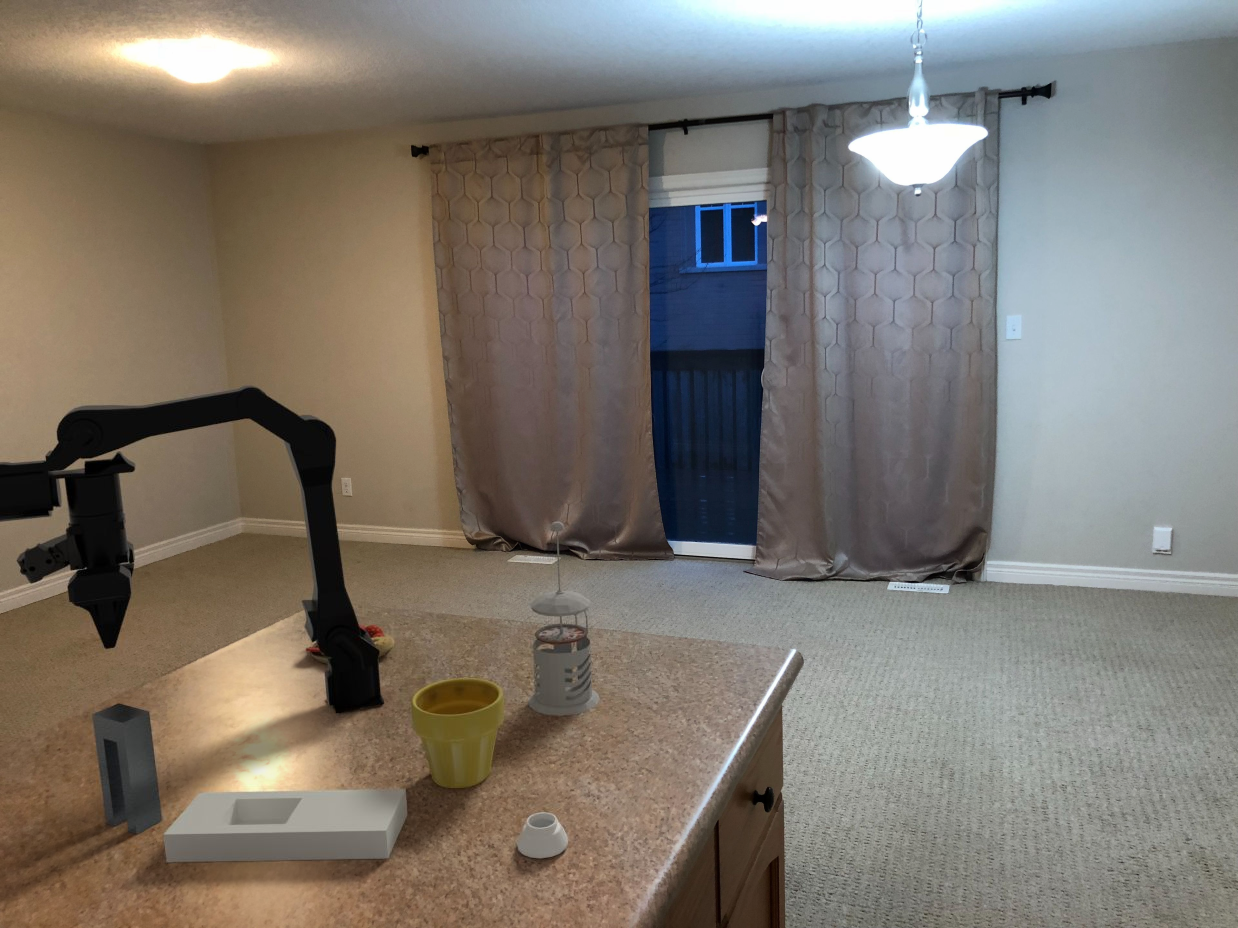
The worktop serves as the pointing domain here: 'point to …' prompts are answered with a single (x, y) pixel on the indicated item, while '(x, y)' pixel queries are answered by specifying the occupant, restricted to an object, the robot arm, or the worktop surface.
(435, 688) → the plant pot
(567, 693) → the french press
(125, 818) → the clip
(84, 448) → the robot arm
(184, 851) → the white slotted block
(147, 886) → the worktop surface
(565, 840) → the white jar
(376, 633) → the toy food set
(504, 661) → the worktop surface
